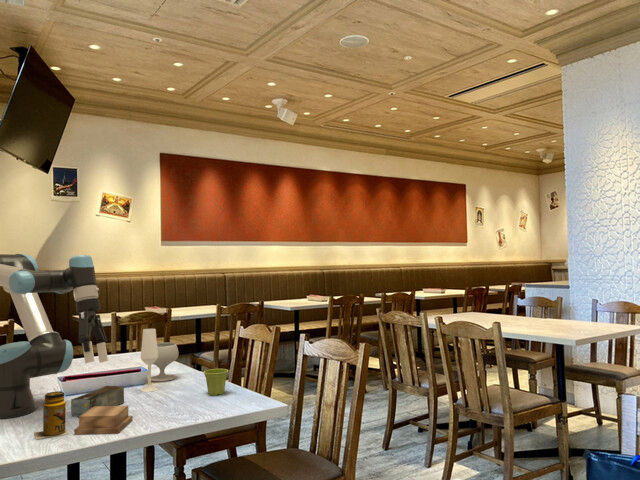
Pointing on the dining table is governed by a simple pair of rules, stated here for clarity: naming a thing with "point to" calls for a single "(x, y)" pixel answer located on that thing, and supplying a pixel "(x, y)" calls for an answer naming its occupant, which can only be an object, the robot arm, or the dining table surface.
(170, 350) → the chalice
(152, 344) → the champagne flute
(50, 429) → the condiment
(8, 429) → the dining table surface
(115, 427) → the walnut plinth
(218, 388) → the plant pot
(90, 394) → the beverage carton
